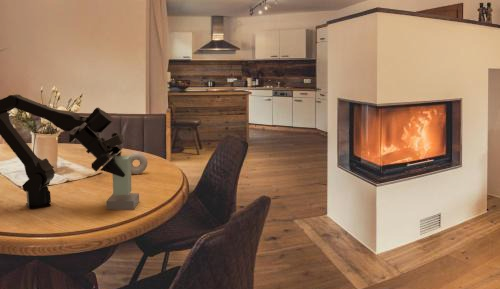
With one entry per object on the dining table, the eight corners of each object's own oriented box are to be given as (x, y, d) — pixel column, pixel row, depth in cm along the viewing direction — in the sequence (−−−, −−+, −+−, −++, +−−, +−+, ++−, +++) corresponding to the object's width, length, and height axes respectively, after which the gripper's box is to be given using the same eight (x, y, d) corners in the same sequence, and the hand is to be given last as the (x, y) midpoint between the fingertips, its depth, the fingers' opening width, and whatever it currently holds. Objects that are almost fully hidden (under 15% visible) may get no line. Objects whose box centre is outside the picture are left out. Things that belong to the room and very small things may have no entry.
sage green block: (113, 194, 139) (112, 158, 137) (117, 190, 144) (115, 155, 142) (128, 194, 139) (127, 159, 137) (131, 190, 144) (130, 156, 142)
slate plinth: (106, 209, 138) (106, 201, 137) (113, 201, 146) (113, 193, 146) (133, 209, 138) (133, 201, 138) (139, 201, 147) (138, 193, 147)
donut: (147, 172, 188) (146, 151, 187) (148, 174, 185) (147, 152, 183) (124, 173, 185) (124, 152, 183) (125, 175, 182) (124, 153, 180)
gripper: (100, 129, 128) (136, 164, 131) (115, 122, 146) (147, 152, 149) (75, 153, 129) (112, 188, 132) (94, 143, 147) (126, 173, 150)
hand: (126, 174), depth 140 cm, fingers closed on sage green block, 5 cm apart
